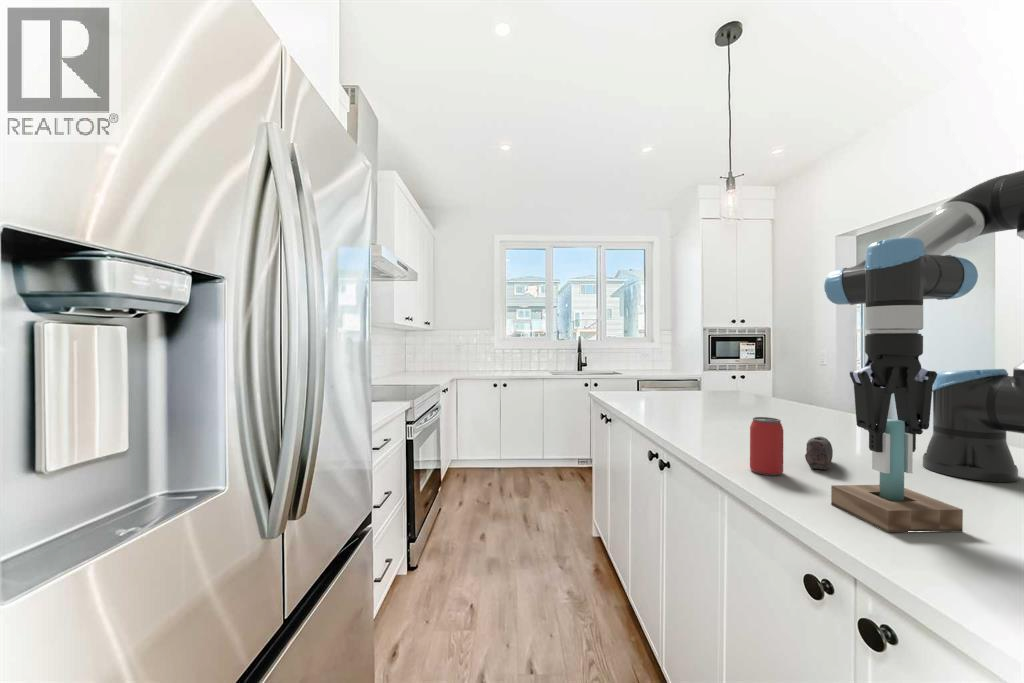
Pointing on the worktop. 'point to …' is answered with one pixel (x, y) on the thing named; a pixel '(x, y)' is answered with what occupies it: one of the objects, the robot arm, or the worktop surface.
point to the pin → (894, 463)
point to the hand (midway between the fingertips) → (891, 470)
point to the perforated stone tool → (819, 453)
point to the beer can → (766, 446)
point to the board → (897, 509)
